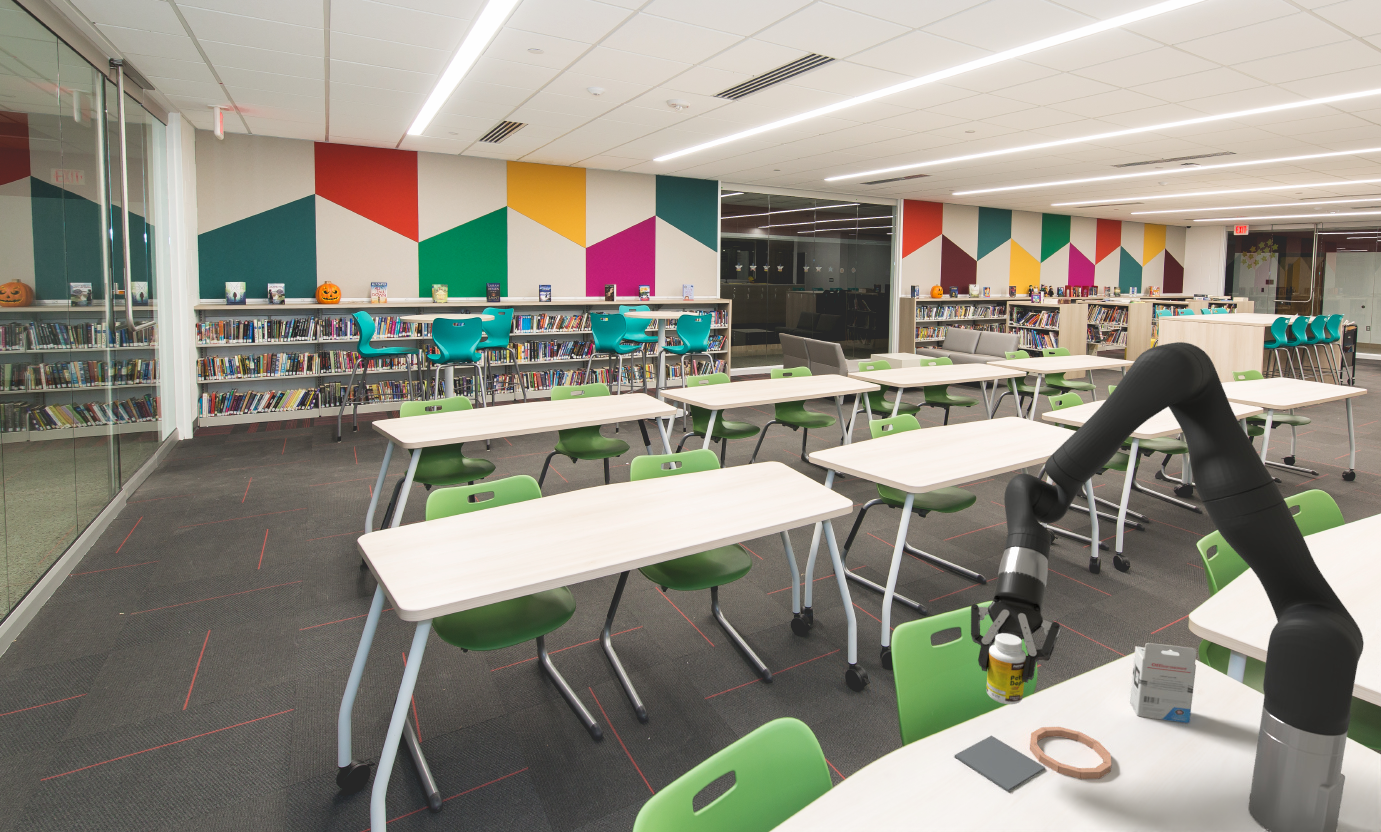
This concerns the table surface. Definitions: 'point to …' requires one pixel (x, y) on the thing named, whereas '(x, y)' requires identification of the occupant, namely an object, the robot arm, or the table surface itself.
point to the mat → (999, 763)
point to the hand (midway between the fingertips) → (1004, 674)
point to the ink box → (1163, 682)
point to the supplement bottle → (1006, 669)
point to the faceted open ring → (1066, 769)
